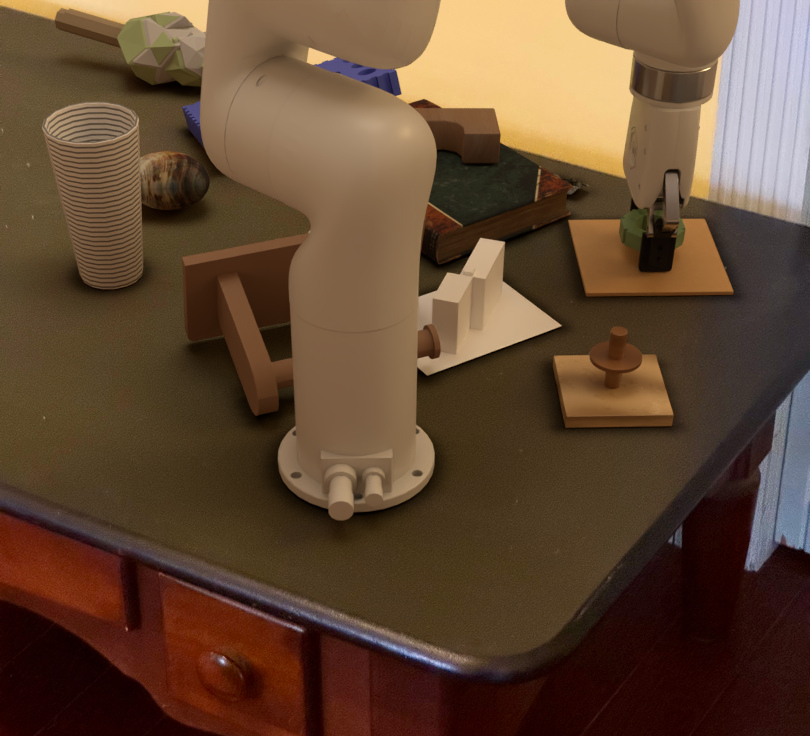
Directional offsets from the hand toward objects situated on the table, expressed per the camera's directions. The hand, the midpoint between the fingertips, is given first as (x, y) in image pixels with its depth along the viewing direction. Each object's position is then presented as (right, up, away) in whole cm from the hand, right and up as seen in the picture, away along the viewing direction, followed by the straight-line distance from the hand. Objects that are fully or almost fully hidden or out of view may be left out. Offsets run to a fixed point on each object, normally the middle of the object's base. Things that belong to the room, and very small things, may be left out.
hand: (649, 250), depth 141 cm
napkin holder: (-19, -8, -9) cm, 22 cm away
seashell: (-46, +10, +8) cm, 48 cm away
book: (-21, +8, +10) cm, 25 cm away
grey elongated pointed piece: (-8, +9, +10) cm, 15 cm away
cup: (-52, -3, -3) cm, 52 cm away
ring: (0, +1, -1) cm, 1 cm away
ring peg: (-6, -16, -17) cm, 24 cm away
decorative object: (-65, +34, +31) cm, 80 cm away
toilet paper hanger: (-31, -13, -13) cm, 36 cm away
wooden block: (-14, +14, +8) cm, 21 cm away
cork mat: (0, -1, 0) cm, 1 cm away
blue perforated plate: (-37, +21, +15) cm, 45 cm away
